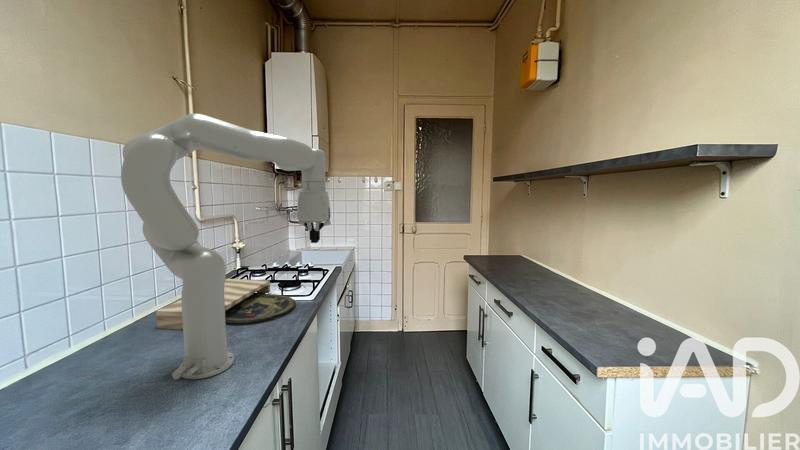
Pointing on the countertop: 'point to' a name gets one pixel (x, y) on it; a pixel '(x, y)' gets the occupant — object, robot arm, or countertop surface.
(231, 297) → the low shelf
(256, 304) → the decorative plate
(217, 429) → the countertop surface
